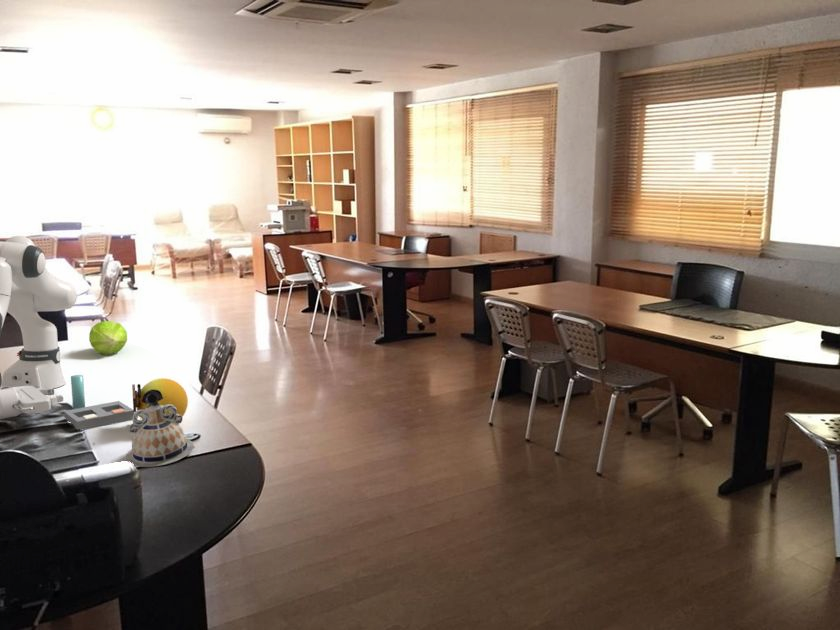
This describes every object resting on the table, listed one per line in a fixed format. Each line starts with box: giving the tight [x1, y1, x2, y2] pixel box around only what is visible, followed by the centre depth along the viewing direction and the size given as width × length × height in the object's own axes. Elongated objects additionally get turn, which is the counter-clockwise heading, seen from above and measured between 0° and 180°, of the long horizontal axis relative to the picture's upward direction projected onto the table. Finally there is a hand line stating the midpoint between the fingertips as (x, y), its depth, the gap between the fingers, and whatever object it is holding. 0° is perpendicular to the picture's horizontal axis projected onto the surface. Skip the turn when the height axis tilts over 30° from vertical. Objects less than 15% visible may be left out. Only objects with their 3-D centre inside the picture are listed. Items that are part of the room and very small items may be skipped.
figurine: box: [124, 389, 195, 468], centre depth 187 cm, size 18×18×20 cm
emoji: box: [131, 377, 189, 420], centre depth 210 cm, size 16×16×15 cm
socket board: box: [63, 400, 135, 431], centre depth 215 cm, size 13×17×3 cm
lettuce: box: [88, 320, 128, 356], centre depth 301 cm, size 15×23×16 cm
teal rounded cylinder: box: [70, 374, 86, 409], centre depth 222 cm, size 4×4×12 cm
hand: (58, 394), depth 218 cm, fingers open, 8 cm apart
